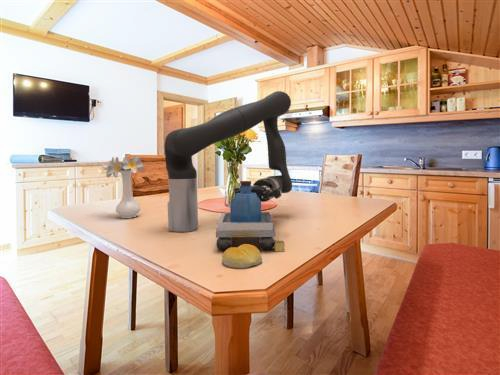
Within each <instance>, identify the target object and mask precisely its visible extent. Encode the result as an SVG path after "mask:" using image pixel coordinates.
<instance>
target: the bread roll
mask: <svg viewBox="0 0 500 375" xmlns="http://www.w3.org/2000/svg"><path fill="white" fill-rule="evenodd" d="M221 258H222V259H221V261H222V263H223V264H224V265H225V266H226V267H229V268H234V269H247V268H251V267H252V266H253V267H255V266H258V265H259V264H261V262H262V261H263V258H262V254H261V251H260V250H259V248H258V247H257V246H255V245H252V244H251V243H250V244H249V243H244V244H243V243H242V244H241V245H239V246H237V247H236V246H233V247H232V246H231V248H228V249H227V250H226V251H223V253H222V257H221Z"/></svg>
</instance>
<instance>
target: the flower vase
mask: <svg viewBox="0 0 500 375" xmlns="http://www.w3.org/2000/svg"><path fill="white" fill-rule="evenodd" d="M119 159H120V158H119V157H118V156H116V157H114V156H113V157H111V160H108V161H107V162H108V163H107V164H106V165H105V164H103V165H101V168H102V169H103V170H104V171H106V172H105V177H106V178H110V177H112V175H113V177H114V178H118V175H119V173H120V174H121V179H122V197H121V200H120V201H119V203H118V204H117V205H116V208H115V212H116V213H117V215H119V216H120V218H121V219H123V218H129V219H133V218H132V217H135V218H137V217H136V216H138V215H137V214H139V213H140V211H141V205H140V204H139V203H138V202H137V201H136V200H135V197H134V196H133V192H132V173H134V174H136V173H137V172H138V171H140V172H141V173H142V174H143V173H144V172H143V170H146V168H147V167H146V166H145V165H144V164H143V163H142V158H141V157H138V156H137V155H133V157H132V158H131V159H130V158H129V157H127V156H123V159H122V161H120V160H119Z"/></svg>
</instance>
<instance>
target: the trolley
mask: <svg viewBox="0 0 500 375" xmlns="http://www.w3.org/2000/svg"><path fill="white" fill-rule="evenodd" d="M215 237H216V238H217V240H216V247H217V249H218V250H219V251H222V252H225V251H226V250H227V249H228V248H231V247H232V246H233V239H232V238H259V239H258V245H259V248H260V249H261V250H262V251H265V252H269V251H271V250H273V249H274V251H275V252H278V253H279V252H285V249H286V248H285V244H286V243H285V242H284V240H275V239H274V238H275V237H276V229H275V227H274V222H273V219H272V216H271V214H270V211H261V222H231V215H230V212H222V213H221V216H220V217H219V220H218V222H217V228H216V230H215Z"/></svg>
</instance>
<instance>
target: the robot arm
mask: <svg viewBox="0 0 500 375" xmlns="http://www.w3.org/2000/svg"><path fill="white" fill-rule="evenodd" d="M291 105H292V100H291V97H290V95H289V94H287V93H286V92H284V91H281V90H277V91H274V92H271V93H270V94H268V95H266V96H265V97H264V98H261V99H259V100H257V101H253V102H248V103H246V104H244V105H239V106H237V107H233V108H231V109H229V110H225V111H224V112H222V113H219V114H217V115H216V116H214V117H213V118H211V119H210V120H208V121H206V122H204V123H201V124H198V125H195V126H194V125H193V126H189V127H185V128H184V127H183V128H180V129H175V130H172V131H170V132H169V133H168V134H167V135H166V136H165V138H164V139H165V140H164V155H165V156H164V158H165V167H166V168H165V169H166V171H167V176H168V199H169V200H168V202H167V219H168V220H167V221H168V222H167V223H168V227H167V228H168V231H169V232H177V233H185V232H186V233H187V232H193V231H196V230H198V229H199V209H198V208H199V207H198V206H199V205H198V204H199V203H198V178H197V177H198V175H197V174H198V172H197V169H196V168H195V166H194V164H193V156H195V155H196V154H197V153H199V152H201V151H203V150H204V149H206V148H208V147H210V146H212V145H214V144H217V143H218V142H219V143H220V142H222V141H226V140H227V139H228V140H229V139H231V138H233V137H236V136H238V135H242V134H243V133H244V132H247V131H248V130H250V129H252V128H253V127H256V126H258V125H259V124H260V123H263V128H264V132H265V137H266V142H267V143H266V144H267V161H268V168H269V169H270V170H273V171H279V172H280V174H281V175H270V176H267V177H264V178H260V179H258V180H256V181H254V183H253V185H251V186H252V189H251V193H256V194H257V196H258V197H259V199H260V201H261V203H262V202H263V203H264V202H268V201H270V200H272V199H279V198H281V197H282V194H288V193H290V192H291V190H292V188H293V181H292V178H291V175H290V173H289V169H288V166H287V165H288V164H287V153H286V152H287V151H286V146H285V143H284V140H283V139H282V136H281V134H280V132H279V128H278V119H279V117H280V116H284V115H285V114H287V112H289V110H290V109H291ZM233 189H234V195H233V197H234V196H235V194H237V193H241V190H240V186H239V187H235V188H233Z"/></svg>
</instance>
